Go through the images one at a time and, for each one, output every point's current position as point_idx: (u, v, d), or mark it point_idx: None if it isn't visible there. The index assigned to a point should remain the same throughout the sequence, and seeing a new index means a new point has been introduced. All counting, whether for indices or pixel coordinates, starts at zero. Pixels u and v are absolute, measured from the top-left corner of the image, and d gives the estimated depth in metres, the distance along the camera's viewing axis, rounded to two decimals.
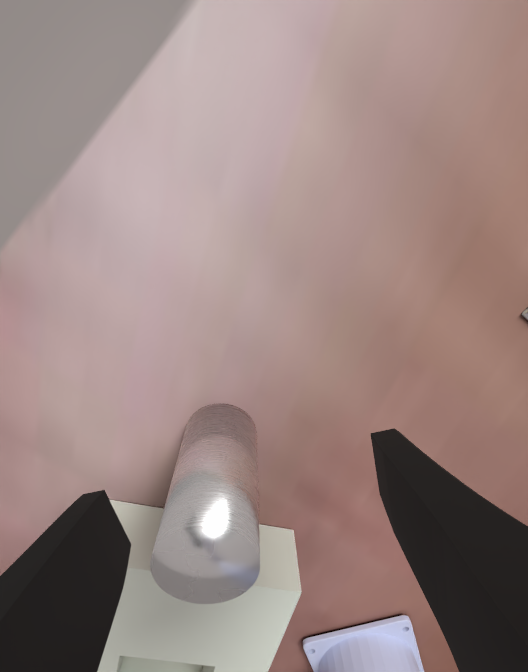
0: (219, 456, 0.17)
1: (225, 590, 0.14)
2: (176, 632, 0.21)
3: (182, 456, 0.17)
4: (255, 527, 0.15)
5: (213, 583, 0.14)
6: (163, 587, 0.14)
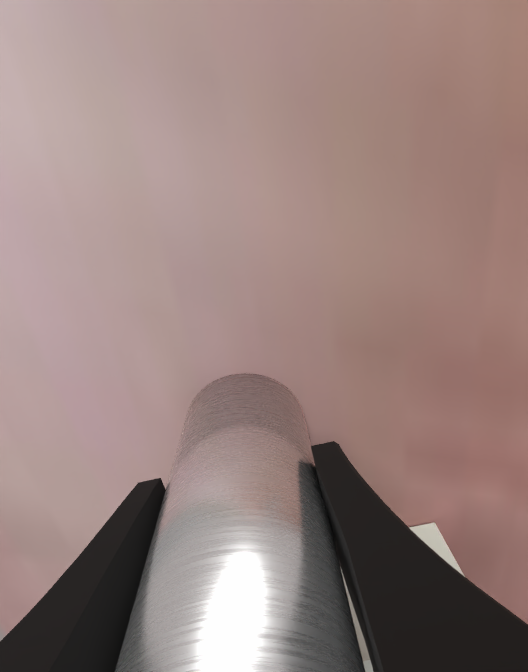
0: (212, 470, 0.08)
1: None
2: None
3: None
4: (324, 610, 0.06)
5: None
6: None
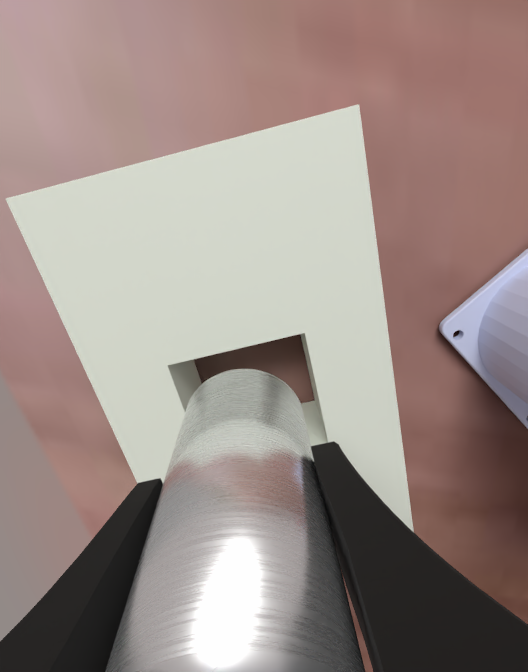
0: (211, 459, 0.08)
1: None
2: (217, 284, 0.14)
3: None
4: (321, 594, 0.06)
5: None
6: None
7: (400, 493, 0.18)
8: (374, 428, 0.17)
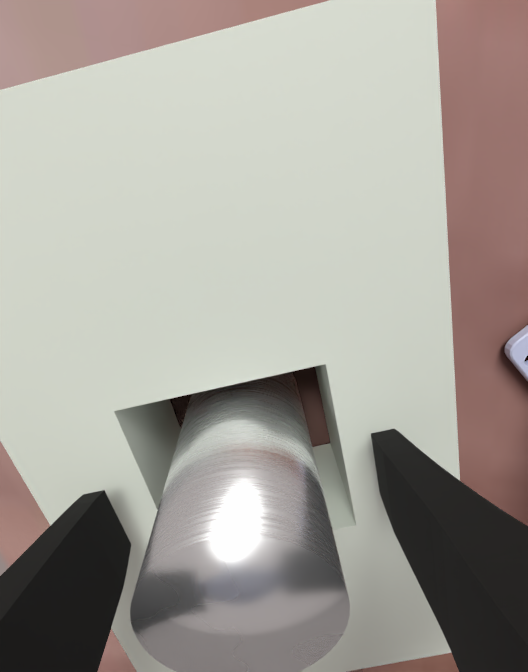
0: (219, 417, 0.10)
1: (303, 645, 0.07)
2: (188, 288, 0.09)
3: None
4: (308, 510, 0.07)
5: (273, 640, 0.07)
6: None
7: None
8: None
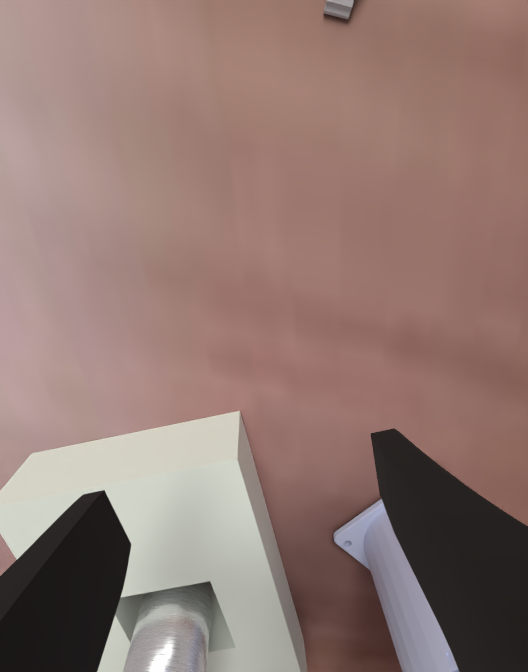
0: (158, 605, 0.20)
1: None
2: (142, 554, 0.19)
3: (140, 607, 0.21)
4: (187, 670, 0.17)
5: None
6: None
7: None
8: (269, 636, 0.21)
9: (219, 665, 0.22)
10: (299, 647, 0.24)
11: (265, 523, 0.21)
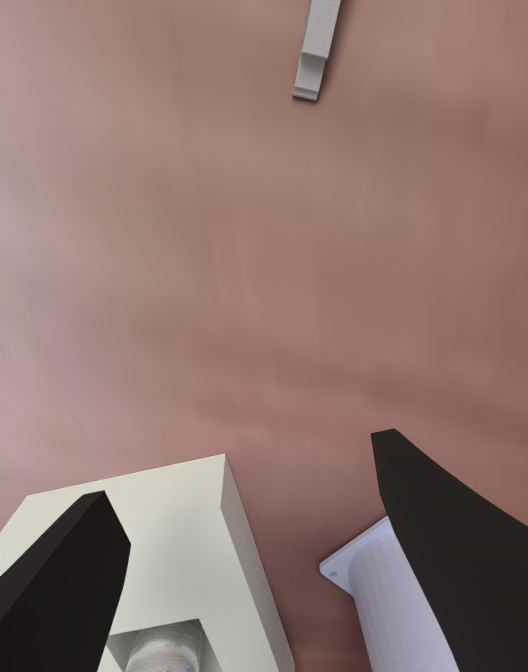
0: (150, 641, 0.21)
1: None
2: (133, 595, 0.20)
3: (133, 641, 0.22)
4: None
5: None
6: None
7: None
8: (257, 666, 0.22)
9: None
10: None
11: (251, 559, 0.22)
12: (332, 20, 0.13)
